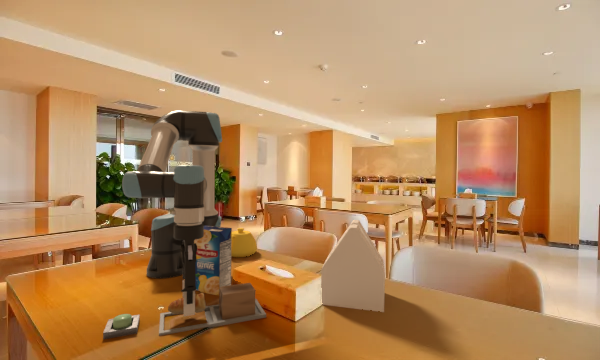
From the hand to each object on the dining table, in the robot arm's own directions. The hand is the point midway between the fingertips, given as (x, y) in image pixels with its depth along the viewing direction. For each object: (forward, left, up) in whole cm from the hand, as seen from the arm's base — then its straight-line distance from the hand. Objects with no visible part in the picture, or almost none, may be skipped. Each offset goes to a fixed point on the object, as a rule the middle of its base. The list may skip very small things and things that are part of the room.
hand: (188, 308), depth 81 cm
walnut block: (0, +13, -3) cm, 13 cm away
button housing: (-1, -15, -5) cm, 16 cm away
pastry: (0, 0, 0) cm, 1 cm away
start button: (-1, -15, -4) cm, 16 cm away
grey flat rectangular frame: (0, +7, -5) cm, 8 cm away
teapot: (-65, +26, -5) cm, 70 cm away
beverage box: (-20, +9, -5) cm, 22 cm away
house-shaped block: (+1, +52, -5) cm, 52 cm away
